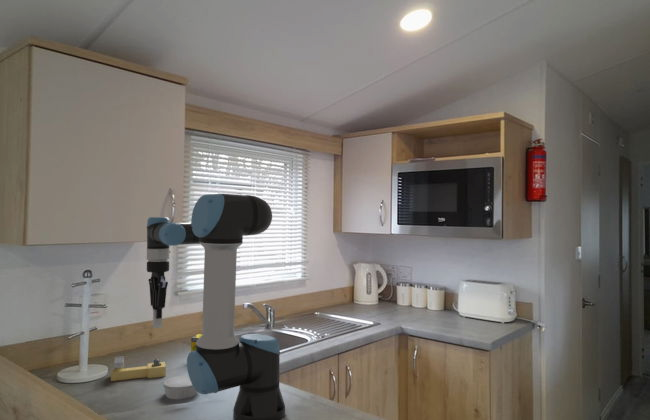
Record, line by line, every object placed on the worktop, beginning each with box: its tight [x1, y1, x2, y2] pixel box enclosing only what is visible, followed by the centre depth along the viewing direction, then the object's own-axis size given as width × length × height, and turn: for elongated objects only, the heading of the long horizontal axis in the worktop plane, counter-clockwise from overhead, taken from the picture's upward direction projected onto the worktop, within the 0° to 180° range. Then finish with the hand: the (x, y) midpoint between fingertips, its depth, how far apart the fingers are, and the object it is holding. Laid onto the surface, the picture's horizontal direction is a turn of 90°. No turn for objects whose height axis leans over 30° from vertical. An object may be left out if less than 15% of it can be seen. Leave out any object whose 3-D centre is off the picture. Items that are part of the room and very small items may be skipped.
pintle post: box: [153, 358, 161, 367], centre depth 166 cm, size 2×2×6 cm
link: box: [110, 361, 167, 382], centre depth 164 cm, size 18×6×3 cm, turn 112°
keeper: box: [113, 355, 125, 370], centre depth 163 cm, size 8×3×7 cm, turn 22°
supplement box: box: [190, 333, 202, 352], centre depth 183 cm, size 6×6×11 cm
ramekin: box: [163, 374, 198, 400], centre depth 148 cm, size 11×11×5 cm
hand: (157, 327), depth 162 cm, fingers closed
